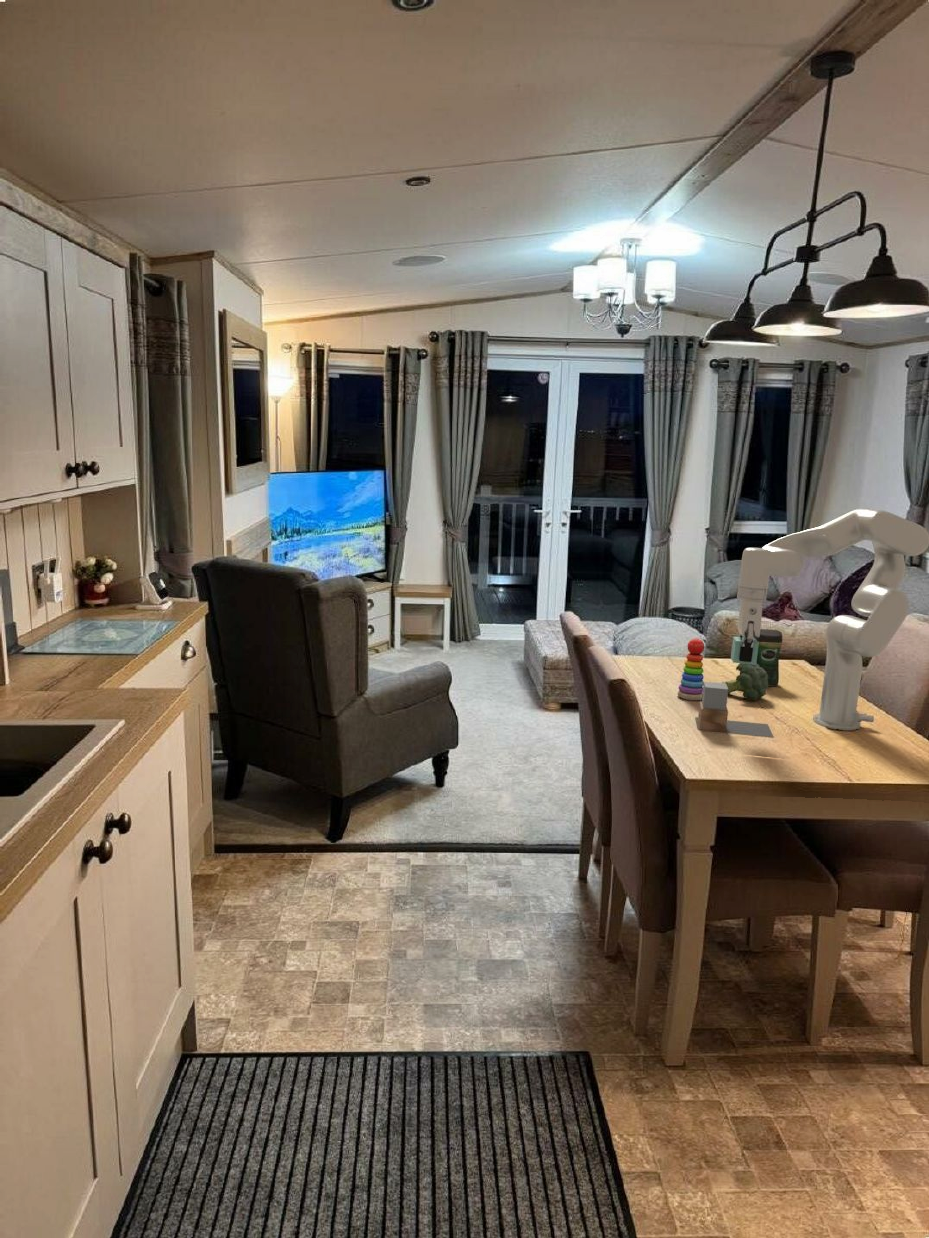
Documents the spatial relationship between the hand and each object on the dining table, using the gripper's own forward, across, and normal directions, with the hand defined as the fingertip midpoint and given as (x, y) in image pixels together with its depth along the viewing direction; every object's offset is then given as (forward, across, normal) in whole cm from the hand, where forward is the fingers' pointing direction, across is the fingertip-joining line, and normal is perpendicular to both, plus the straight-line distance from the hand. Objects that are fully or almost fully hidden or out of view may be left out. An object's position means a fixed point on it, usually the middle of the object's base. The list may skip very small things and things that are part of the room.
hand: (743, 658), depth 235 cm
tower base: (+20, -2, +6) cm, 21 cm away
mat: (+20, 0, 0) cm, 20 cm away
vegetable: (+20, +34, -7) cm, 40 cm away
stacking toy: (+20, +28, +10) cm, 36 cm away
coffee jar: (+19, +54, -15) cm, 59 cm away
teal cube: (+1, 0, 0) cm, 1 cm away
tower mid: (+14, -2, +6) cm, 16 cm away
